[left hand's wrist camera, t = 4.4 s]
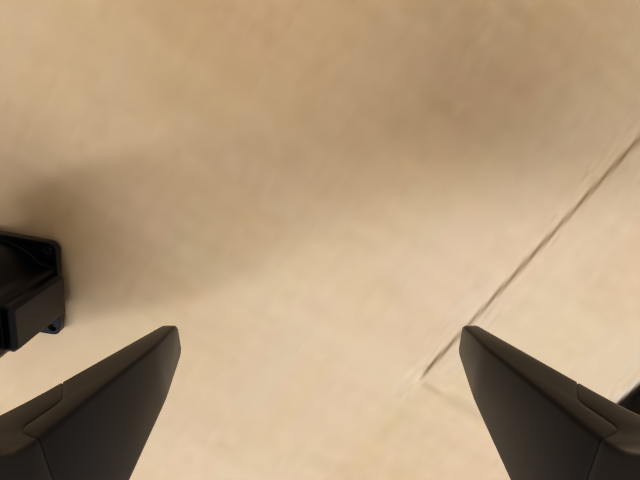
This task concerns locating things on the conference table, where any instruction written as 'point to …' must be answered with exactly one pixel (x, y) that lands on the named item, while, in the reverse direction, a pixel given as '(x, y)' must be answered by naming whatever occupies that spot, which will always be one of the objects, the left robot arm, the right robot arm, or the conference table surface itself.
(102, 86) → the conference table surface
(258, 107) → the conference table surface
